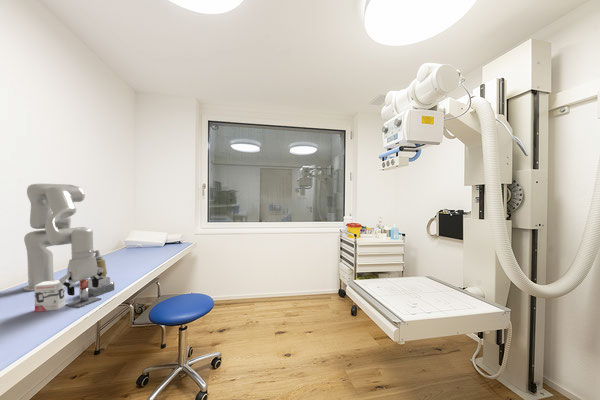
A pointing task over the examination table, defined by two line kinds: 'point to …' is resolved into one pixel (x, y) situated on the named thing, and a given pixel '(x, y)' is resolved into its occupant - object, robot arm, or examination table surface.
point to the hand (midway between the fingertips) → (83, 290)
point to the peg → (83, 290)
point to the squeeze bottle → (100, 263)
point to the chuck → (100, 286)
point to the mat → (79, 304)
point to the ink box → (49, 296)
